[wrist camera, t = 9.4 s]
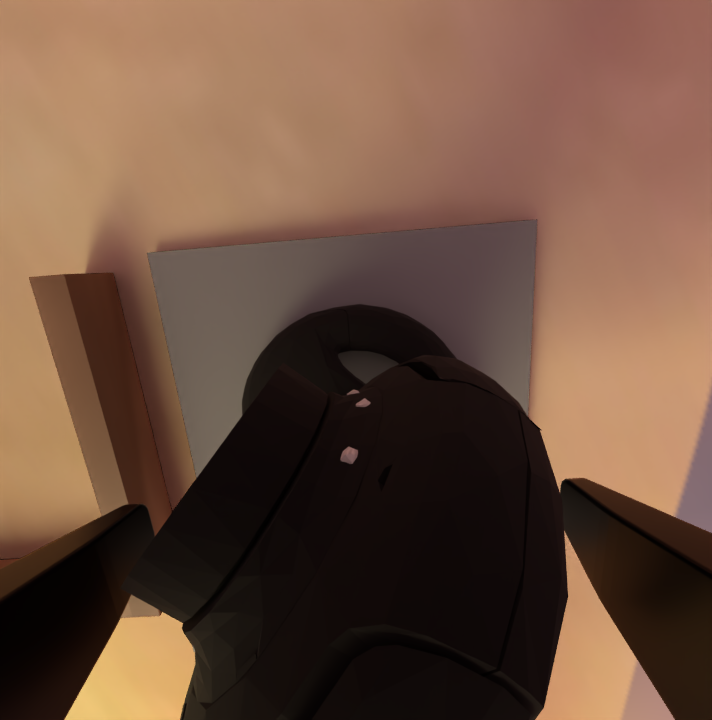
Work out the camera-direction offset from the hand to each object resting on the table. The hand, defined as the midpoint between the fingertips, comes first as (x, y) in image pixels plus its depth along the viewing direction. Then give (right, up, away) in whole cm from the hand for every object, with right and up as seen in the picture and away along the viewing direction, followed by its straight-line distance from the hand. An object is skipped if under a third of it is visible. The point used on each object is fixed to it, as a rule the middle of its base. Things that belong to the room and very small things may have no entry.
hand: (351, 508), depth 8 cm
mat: (0, +1, +5) cm, 5 cm away
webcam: (0, +1, +5) cm, 5 cm away
